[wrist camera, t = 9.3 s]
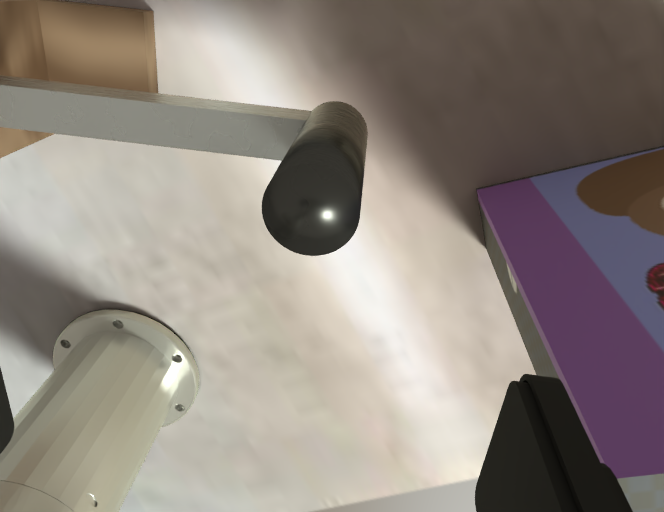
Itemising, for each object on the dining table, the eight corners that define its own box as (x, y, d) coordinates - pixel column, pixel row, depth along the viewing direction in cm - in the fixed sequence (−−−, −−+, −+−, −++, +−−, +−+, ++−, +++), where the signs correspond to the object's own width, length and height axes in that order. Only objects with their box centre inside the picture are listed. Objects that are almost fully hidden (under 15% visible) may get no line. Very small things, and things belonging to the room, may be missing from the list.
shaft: (363, 169, 26) (353, 261, 18) (-49, 120, 27) (-259, 184, 18) (371, 105, 25) (365, 170, 16) (-65, 55, 26) (-301, 91, 17)
